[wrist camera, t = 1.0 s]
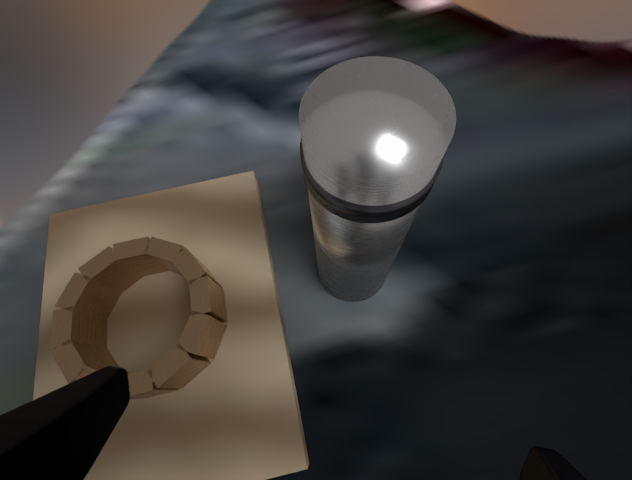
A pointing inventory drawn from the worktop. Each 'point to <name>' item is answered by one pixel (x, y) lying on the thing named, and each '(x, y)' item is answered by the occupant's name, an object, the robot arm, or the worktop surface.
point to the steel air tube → (369, 164)
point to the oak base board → (167, 327)
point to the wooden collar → (104, 291)
